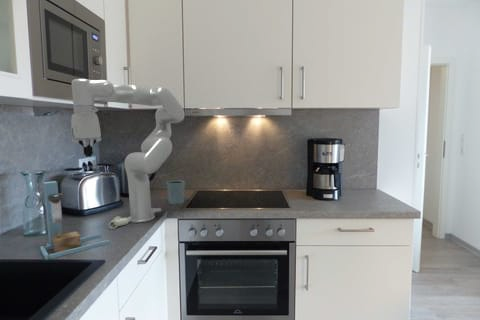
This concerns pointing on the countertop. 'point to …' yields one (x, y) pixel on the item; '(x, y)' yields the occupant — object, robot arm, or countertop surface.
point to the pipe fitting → (118, 222)
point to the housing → (66, 241)
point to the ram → (56, 207)
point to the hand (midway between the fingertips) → (88, 156)
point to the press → (60, 227)
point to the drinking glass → (176, 191)
